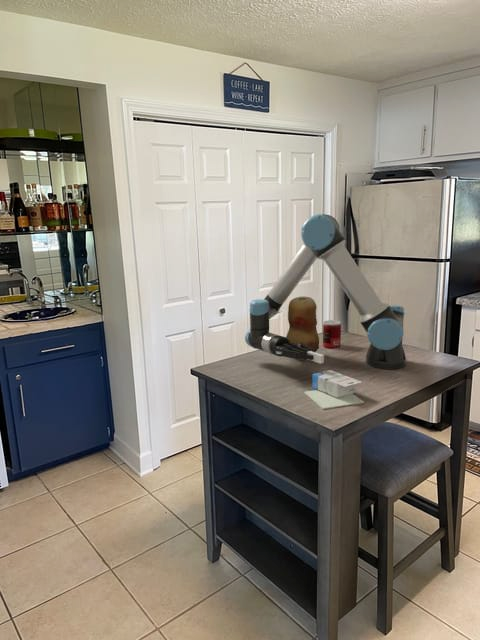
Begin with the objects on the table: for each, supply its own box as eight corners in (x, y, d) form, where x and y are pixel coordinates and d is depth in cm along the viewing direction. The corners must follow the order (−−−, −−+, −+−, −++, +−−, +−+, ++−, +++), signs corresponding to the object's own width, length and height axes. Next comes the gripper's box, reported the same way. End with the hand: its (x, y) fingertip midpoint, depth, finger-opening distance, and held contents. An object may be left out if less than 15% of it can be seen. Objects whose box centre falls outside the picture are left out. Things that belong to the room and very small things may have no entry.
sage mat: (342, 387, 158) (342, 386, 158) (364, 403, 145) (364, 402, 145) (304, 392, 154) (304, 391, 154) (322, 409, 141) (322, 408, 141)
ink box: (311, 388, 157) (343, 401, 145) (312, 373, 156) (344, 386, 144) (330, 383, 162) (362, 395, 150) (330, 369, 161) (363, 381, 149)
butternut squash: (283, 360, 188) (282, 300, 182) (287, 351, 200) (287, 294, 195) (317, 362, 184) (318, 300, 179) (320, 352, 197) (320, 294, 191)
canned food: (342, 344, 208) (342, 320, 205) (338, 349, 201) (338, 325, 198) (325, 343, 211) (325, 319, 208) (320, 348, 204) (321, 323, 201)
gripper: (289, 351, 180) (335, 365, 161) (263, 357, 172) (308, 374, 154) (288, 332, 178) (335, 345, 160) (262, 338, 171) (308, 352, 152)
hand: (322, 359), depth 157 cm, fingers closed
